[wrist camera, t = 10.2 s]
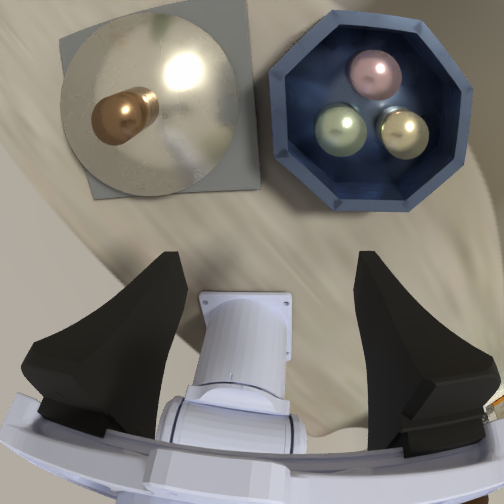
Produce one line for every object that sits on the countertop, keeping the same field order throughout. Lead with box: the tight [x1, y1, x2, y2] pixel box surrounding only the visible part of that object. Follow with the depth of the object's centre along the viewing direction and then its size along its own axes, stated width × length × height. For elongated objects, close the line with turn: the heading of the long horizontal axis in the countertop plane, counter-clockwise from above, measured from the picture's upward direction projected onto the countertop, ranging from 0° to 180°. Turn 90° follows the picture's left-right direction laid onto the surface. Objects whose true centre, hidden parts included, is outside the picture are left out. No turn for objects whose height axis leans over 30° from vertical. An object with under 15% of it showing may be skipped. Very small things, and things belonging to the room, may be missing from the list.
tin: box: [268, 10, 473, 212], centre depth 17 cm, size 12×12×3 cm
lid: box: [60, 12, 239, 196], centre depth 17 cm, size 12×12×4 cm
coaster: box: [59, 0, 261, 200], centre depth 19 cm, size 13×13×1 cm
